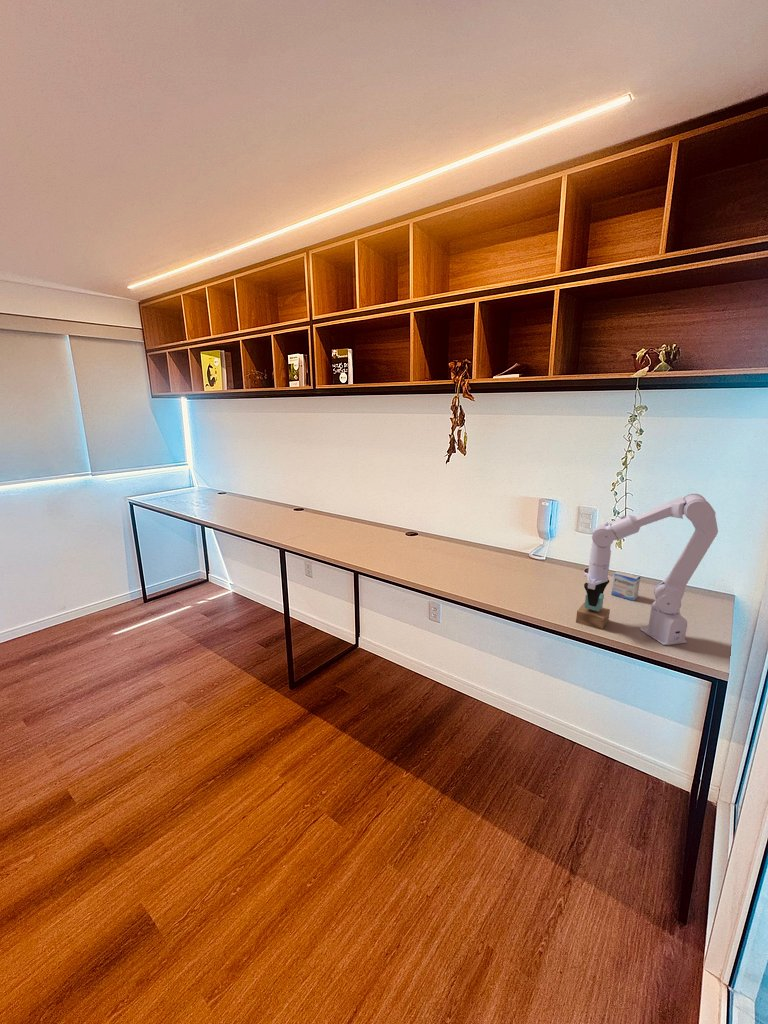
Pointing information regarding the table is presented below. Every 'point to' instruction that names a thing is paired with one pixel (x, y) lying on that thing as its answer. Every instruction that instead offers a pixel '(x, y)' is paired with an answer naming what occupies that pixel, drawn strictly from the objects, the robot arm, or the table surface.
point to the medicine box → (625, 585)
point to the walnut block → (593, 617)
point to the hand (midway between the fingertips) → (594, 602)
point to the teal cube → (598, 606)
